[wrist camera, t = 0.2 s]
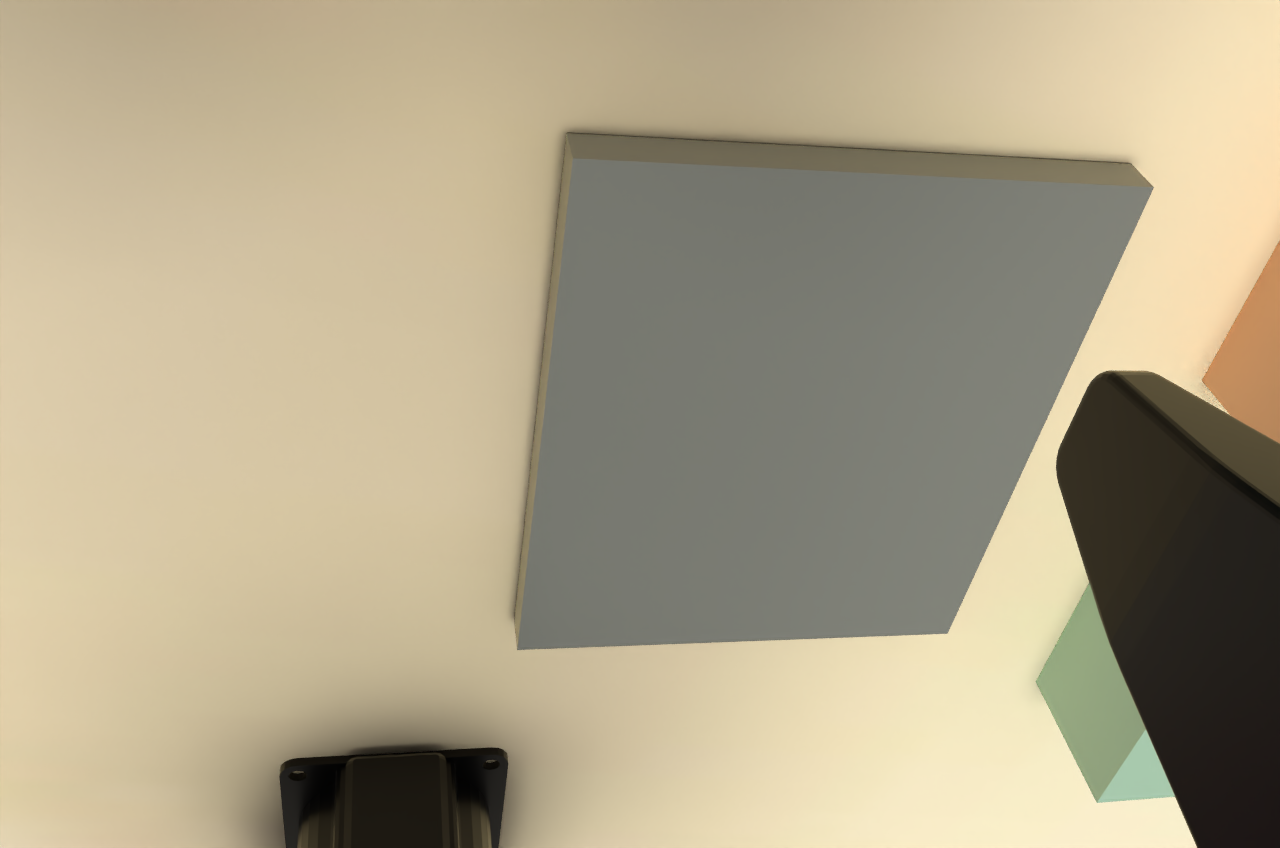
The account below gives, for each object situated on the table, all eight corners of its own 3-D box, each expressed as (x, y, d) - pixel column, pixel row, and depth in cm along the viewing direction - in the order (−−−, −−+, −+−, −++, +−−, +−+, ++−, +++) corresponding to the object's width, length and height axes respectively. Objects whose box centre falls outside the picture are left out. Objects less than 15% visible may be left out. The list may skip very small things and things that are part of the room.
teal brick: (1168, 669, 38) (1243, 791, 35) (1033, 676, 37) (1097, 802, 34) (1312, 446, 32) (1420, 568, 29) (1156, 448, 31) (1248, 575, 28)
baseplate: (935, 606, 34) (947, 633, 33) (513, 619, 31) (517, 650, 31) (1131, 163, 25) (1153, 187, 24) (566, 133, 23) (572, 158, 22)
